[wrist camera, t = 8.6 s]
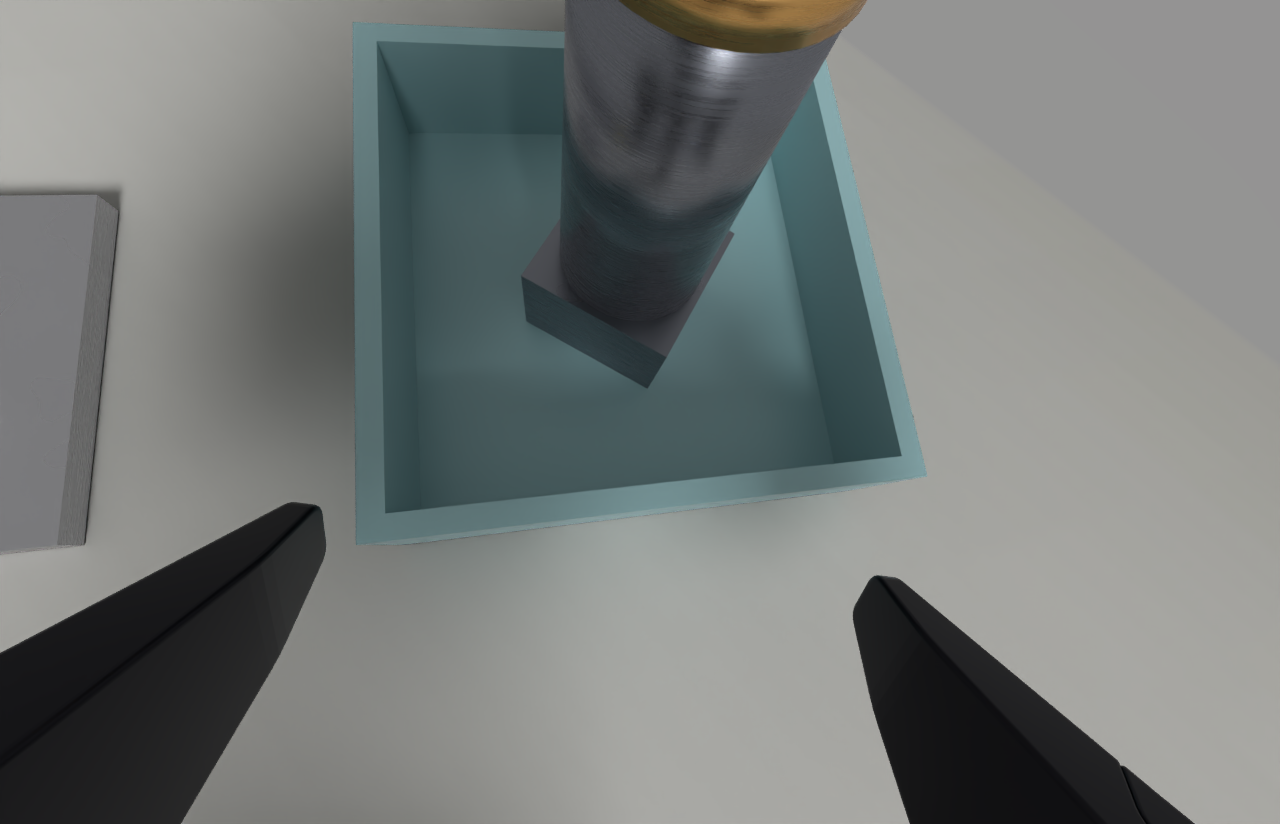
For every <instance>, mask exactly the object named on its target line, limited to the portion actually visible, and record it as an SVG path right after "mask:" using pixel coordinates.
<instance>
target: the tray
mask: <svg viewBox="0 0 1280 824" xmlns="http://www.w3.org/2000/svg"><path fill="white" fill-rule="evenodd" d="M564 38H565V32H559V31H537V30H515V29H493V28H471V27H449V26H427V25H405V24H383V23H361V22H353V151H354V316H355V481H356V545H407V544H415V543H423V542H431V541H440V540H448V539H456V538H464V537H472V536H481V535H489V534H497V533H505V532H514V531H522V530H530V529H538V528H546V527H555V526H563V525H571V524H579V523H587V522H596V521H604V520H612V519H620V518H628V517H637V516H645V515H653V514H661V513H669V512H678V511H686V510H694V509H702V508H711V507H719V506H727V505H735V504H743V503H752V502H760V501H768V500H776V499H784V498H793V497H801V496H809V495H817V494H825V493H834V492H842V491H849V490H855V489H860V488H866V487H871V486H877V485H882V484H888V483H893V482H899V481H904V480H910V479H915V478H921V477H926V476H927V473H926V468H925V464H924V460H923V456H922V452H921V448H920V444H919V440H918V436H917V432H916V427H915V423H914V419H913V415H912V411H911V407H910V403H909V399H908V395H907V390H906V386H905V382H904V378H903V374H902V370H901V366H900V362H899V358H898V354H897V349H896V345H895V341H894V337H893V333H892V329H891V325H890V321H889V317H888V313H887V308H886V304H885V300H884V296H883V292H882V288H881V284H880V280H879V276H878V272H877V267H876V263H875V259H874V255H873V251H872V247H871V243H870V239H869V235H868V231H867V226H866V222H865V218H864V214H863V210H862V206H861V202H860V198H859V194H858V189H857V185H856V181H855V177H854V173H853V169H852V165H851V161H850V157H849V153H848V148H847V144H846V140H845V136H844V132H843V128H842V124H841V120H840V116H839V112H838V107H837V103H836V99H835V95H834V91H833V87H832V83H831V79H830V75H829V71H828V66H827V62H826V59H825V61H824V62H823V64H822V66H821V68H820V70H819V71H818V73H817V75H816V77H815V78H814V80H813V82H812V84H811V86H810V87H809V89H808V91H807V93H806V95H805V96H804V98H803V100H802V102H801V103H800V105H799V107H798V109H797V111H796V112H795V114H794V116H793V118H792V119H791V121H790V123H789V125H788V127H787V128H786V130H785V132H784V134H783V135H782V137H781V139H780V141H779V143H778V144H777V146H776V148H775V150H774V151H773V153H772V155H771V157H770V159H769V160H768V162H767V164H766V166H765V167H764V169H763V171H762V173H761V175H760V176H759V178H758V180H757V182H756V183H755V185H754V187H753V189H752V191H751V192H750V194H749V196H748V198H747V199H746V201H745V203H744V205H743V207H742V208H741V210H740V212H739V214H738V215H737V217H736V219H735V221H734V223H733V224H732V226H731V228H730V230H729V231H731V232H733V233H735V234H734V236H733V238H732V240H731V242H730V243H729V245H728V247H727V249H726V251H725V252H724V254H723V256H722V258H721V260H720V262H719V263H718V265H717V267H716V269H715V271H714V272H713V274H712V276H711V278H710V280H709V282H708V283H707V285H706V287H705V289H704V291H703V292H702V294H701V296H700V298H699V300H698V302H697V303H696V305H695V307H694V309H693V311H692V312H691V314H690V316H689V318H688V320H687V322H686V323H685V325H684V327H683V329H682V331H681V332H680V334H679V336H678V338H677V340H676V342H675V343H674V345H673V347H672V349H671V351H670V352H669V354H668V356H667V358H666V359H665V361H664V363H663V364H662V366H661V368H660V369H659V371H658V373H657V374H656V376H655V377H654V379H653V381H652V382H651V384H650V386H649V387H648V389H647V388H645V387H643V386H641V385H640V384H638V383H636V382H634V381H632V380H631V379H629V378H627V377H625V376H623V375H622V374H620V373H618V372H616V371H614V370H613V369H611V368H609V367H607V366H605V365H604V364H602V363H600V362H598V361H596V360H595V359H593V358H591V357H589V356H588V355H586V354H584V353H582V352H580V351H579V350H577V349H575V348H573V347H571V346H570V345H568V344H566V343H564V342H562V341H561V340H559V339H557V338H555V337H553V336H552V335H550V334H548V333H546V332H545V331H543V330H541V329H539V328H537V327H536V326H534V325H532V324H530V323H528V322H527V321H526V314H525V306H524V297H523V289H522V280H521V275H522V273H523V272H524V270H525V269H526V268H527V266H528V265H529V263H530V262H531V260H532V259H533V257H534V256H535V254H536V253H537V251H538V250H539V249H540V247H541V246H542V244H543V243H544V241H545V240H546V238H547V237H548V235H549V234H550V232H551V231H552V229H553V228H554V227H555V225H556V224H557V222H558V221H559V219H560V209H561V166H562V123H563V81H564Z"/></svg>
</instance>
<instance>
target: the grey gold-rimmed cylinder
mask: <svg viewBox="0 0 1280 824" xmlns="http://www.w3.org/2000/svg"><path fill="white" fill-rule="evenodd" d="M866 2H867V0H565V38H564V81H563V123H562V166H561V209H560V219H559V221H558V222H557V224H556V225H555V227H554V228H553V229H552V231H551V232H550V234H549V235H548V237H547V238H546V240H545V241H544V243H543V244H542V246H541V247H540V249H539V250H538V251H537V253H536V254H535V256H534V257H533V259H532V260H531V262H530V263H529V265H528V266H527V268H526V269H525V270H524V272H523V273H522V275H521V280H522V289H523V297H524V306H525V314H526V321H527V322H528V323H530V324H532V325H534V326H536V327H537V328H539V329H541V330H543V331H545V332H546V333H548V334H550V335H552V336H553V337H555V338H557V339H559V340H561V341H562V342H564V343H566V344H568V345H570V346H571V347H573V348H575V349H577V350H579V351H580V352H582V353H584V354H586V355H588V356H589V357H591V358H593V359H595V360H596V361H598V362H600V363H602V364H604V365H605V366H607V367H609V368H611V369H613V370H614V371H616V372H618V373H620V374H622V375H623V376H625V377H627V378H629V379H631V380H632V381H634V382H636V383H638V384H640V385H641V386H643V387H645V388H647V389H648V387H649V386H650V384H651V382H652V381H653V379H654V377H655V376H656V374H657V373H658V371H659V369H660V368H661V366H662V364H663V363H664V361H665V359H666V358H667V356H668V354H669V352H670V351H671V349H672V347H673V345H674V343H675V342H676V340H677V338H678V336H679V334H680V332H681V331H682V329H683V327H684V325H685V323H686V322H687V320H688V318H689V316H690V314H691V312H692V311H693V309H694V307H695V305H696V303H697V302H698V300H699V298H700V296H701V294H702V292H703V291H704V289H705V287H706V285H707V283H708V282H709V280H710V278H711V276H712V274H713V272H714V271H715V269H716V267H717V265H718V263H719V262H720V260H721V258H722V256H723V254H724V252H725V251H726V249H727V247H728V245H729V243H730V242H731V240H732V238H733V236H734V234H735V233H733V232H731V231H729V230H730V228H731V226H732V224H733V223H734V221H735V219H736V217H737V215H738V214H739V212H740V210H741V208H742V207H743V205H744V203H745V201H746V199H747V198H748V196H749V194H750V192H751V191H752V189H753V187H754V185H755V183H756V182H757V180H758V178H759V176H760V175H761V173H762V171H763V169H764V167H765V166H766V164H767V162H768V160H769V159H770V157H771V155H772V153H773V151H774V150H775V148H776V146H777V144H778V143H779V141H780V139H781V137H782V135H783V134H784V132H785V130H786V128H787V127H788V125H789V123H790V121H791V119H792V118H793V116H794V114H795V112H796V111H797V109H798V107H799V105H800V103H801V102H802V100H803V98H804V96H805V95H806V93H807V91H808V89H809V87H810V86H811V84H812V82H813V80H814V78H815V77H816V75H817V73H818V71H819V70H820V68H821V66H822V64H823V62H824V61H825V59H826V57H827V55H828V54H829V52H830V50H831V48H832V46H833V45H834V43H835V41H836V39H837V38H838V36H839V34H840V32H841V30H842V29H843V28H844V27H846V26H847V25H848V24H849V23H850V22H851V21H852V20H853V19H854V18H855V17H856V16H857V15H858V14H859V12H860V11H861V9H862V8H863V6H864V5H865V3H866Z"/></svg>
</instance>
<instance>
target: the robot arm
mask: <svg viewBox="0 0 1280 824" xmlns="http://www.w3.org/2000/svg"><path fill="white" fill-rule="evenodd" d="M325 552H326V539H325V531H324V523H323V514H322V510H321V509H320V507H319V506H317V505H313V504H305V503H297V502H290V503H287V504H284V505H282V506H281V507H279V508H277V509H275V510H273V511H271V512H269V513H267V514H265V515H263V516H261V517H259V518H258V519H256V520H254V521H252V522H250V523H248V524H246V525H244V526H242V527H240V528H238V529H237V530H235V531H233V532H231V533H229V534H227V535H225V536H223V537H221V538H219V539H217V540H216V541H214V542H212V543H210V544H208V545H206V546H204V547H202V548H200V549H198V550H196V551H194V552H193V553H191V554H189V555H187V556H185V557H183V558H181V559H179V560H177V561H175V562H173V563H172V564H170V565H168V566H166V567H164V568H162V569H160V570H158V571H156V572H154V573H152V574H151V575H149V576H147V577H145V578H143V579H141V580H139V581H137V582H135V583H133V584H131V585H129V586H128V587H126V588H124V589H122V590H120V591H118V592H116V593H114V594H112V595H110V596H108V597H107V598H105V599H103V600H101V601H99V602H97V603H95V604H93V605H91V606H89V607H87V608H86V609H84V610H82V611H80V612H78V613H76V614H74V615H72V616H70V617H68V618H66V619H64V620H63V621H61V622H59V623H57V624H55V625H53V626H51V627H49V628H47V629H45V630H43V631H42V632H40V633H38V634H36V635H34V636H32V637H30V638H28V639H26V640H24V641H22V642H21V643H19V644H17V645H15V646H13V647H11V648H9V649H7V650H5V651H3V652H1V653H0V824H181V823H182V821H183V819H184V817H185V816H186V814H187V812H188V811H189V809H190V807H191V806H192V804H193V802H194V800H195V799H196V797H197V795H198V794H199V792H200V790H201V789H202V787H203V785H204V783H205V782H206V780H207V778H208V777H209V775H210V773H211V772H212V770H213V768H214V767H215V765H216V763H217V761H218V760H219V758H220V756H221V755H222V753H223V751H224V750H225V748H226V746H227V744H228V743H229V741H230V739H231V738H232V736H233V734H234V733H235V731H236V729H237V728H238V726H239V724H240V722H241V721H242V719H243V717H244V716H245V714H246V712H247V711H248V709H249V707H250V705H251V704H252V702H253V700H254V699H255V697H256V695H257V694H258V692H259V690H260V689H261V687H262V685H263V683H264V682H265V680H266V678H267V677H268V675H269V673H270V672H271V670H272V668H273V666H274V664H275V663H276V661H277V659H278V657H279V655H280V653H281V651H282V649H283V647H284V645H285V643H286V641H287V639H288V637H289V634H290V632H291V630H292V628H293V626H294V623H295V621H296V619H297V617H298V615H299V612H300V610H301V608H302V606H303V604H304V601H305V599H306V597H307V595H308V593H309V590H310V588H311V586H312V584H313V582H314V579H315V577H316V575H317V573H318V571H319V568H320V566H321V564H322V562H323V559H324V556H325ZM853 623H854V627H855V632H856V636H857V641H858V645H859V650H860V654H861V659H862V663H863V668H864V673H865V677H866V682H867V686H868V691H869V695H870V699H871V703H872V707H873V711H874V714H875V717H876V721H877V724H878V727H879V730H880V733H881V737H882V740H883V743H884V746H885V749H886V752H887V755H888V758H889V761H890V764H891V767H892V771H893V774H894V777H895V780H896V783H897V786H898V789H899V792H900V795H901V798H902V801H903V804H904V808H905V811H906V814H907V817H908V820H909V823H910V824H1194V823H1193V822H1192V821H1191V820H1190V819H1188V818H1187V817H1186V816H1185V815H1183V814H1182V813H1181V812H1180V811H1178V810H1177V809H1176V808H1175V807H1174V806H1172V805H1171V804H1170V803H1169V802H1167V801H1166V800H1165V799H1164V798H1162V797H1161V796H1160V795H1159V794H1158V793H1156V792H1155V791H1154V790H1153V789H1151V788H1150V787H1149V786H1148V785H1147V784H1145V783H1144V782H1143V781H1142V780H1141V779H1140V778H1138V777H1137V776H1136V775H1135V774H1134V773H1132V772H1131V771H1130V770H1129V769H1128V768H1126V767H1125V766H1120V763H1119V762H1118V760H1117V759H1115V758H1114V757H1113V756H1112V755H1111V754H1109V753H1108V752H1107V751H1106V750H1105V749H1103V748H1102V747H1101V746H1100V745H1099V744H1097V743H1096V742H1095V741H1094V740H1093V739H1091V738H1090V737H1089V736H1088V735H1087V734H1085V733H1084V732H1083V731H1082V730H1081V729H1079V728H1078V727H1077V726H1076V725H1075V724H1073V723H1072V722H1071V721H1070V720H1069V719H1067V718H1066V717H1065V716H1064V715H1062V714H1061V713H1060V712H1059V711H1058V710H1056V709H1055V708H1054V707H1053V706H1052V705H1050V704H1049V703H1048V702H1047V701H1046V700H1044V699H1043V698H1042V697H1041V696H1040V695H1038V694H1037V693H1036V692H1035V691H1034V690H1032V689H1031V688H1030V687H1029V686H1028V685H1026V684H1025V683H1024V682H1023V681H1022V680H1020V679H1019V678H1018V677H1017V676H1016V675H1014V674H1013V673H1012V672H1011V671H1010V670H1008V669H1007V668H1006V667H1005V666H1004V665H1002V664H1001V663H1000V662H999V661H998V660H996V659H995V658H994V657H993V656H992V655H990V654H989V653H988V652H987V651H986V650H984V649H983V648H982V647H981V646H980V645H978V644H977V643H976V642H975V641H974V640H972V639H971V638H970V637H969V636H968V635H966V634H965V633H964V632H963V631H961V630H960V629H959V628H958V627H957V626H955V625H954V624H953V623H952V622H951V621H949V620H948V619H947V618H946V617H945V616H943V615H942V614H941V613H940V612H939V611H937V610H936V609H935V608H934V607H933V606H931V605H930V604H929V603H928V602H927V601H925V600H924V599H923V598H922V597H921V596H919V595H918V594H917V593H916V592H915V591H913V590H912V589H911V588H910V587H909V586H907V585H906V584H905V583H904V582H903V581H901V580H900V579H898V578H895V577H887V576H879V575H877V576H874V577H872V578H871V579H870V580H869V582H868V583H867V585H866V587H865V589H864V590H863V592H862V594H861V596H860V597H859V599H858V601H857V603H856V604H855V607H854V610H853Z"/></svg>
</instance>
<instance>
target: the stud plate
mask: <svg viewBox="0 0 1280 824" xmlns="http://www.w3.org/2000/svg"><path fill="white" fill-rule="evenodd" d="M118 212H119V211H118V210H117V209H115V208H114V207H113V206H111V205H110V204H109V203H107V202H106V201H105V200H103V199H102V198H101V197H100V196H98V195H0V554H8V553H17V552H26V551H35V550H44V549H53V548H62V547H71V546H80V545H84V540H85V530H86V520H87V511H88V501H89V491H90V482H91V472H92V462H93V453H94V443H95V434H96V424H97V414H98V405H99V395H100V385H101V376H102V366H103V357H104V347H105V337H106V328H107V318H108V308H109V299H110V289H111V279H112V270H113V260H114V251H115V241H116V231H117V222H118Z"/></svg>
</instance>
